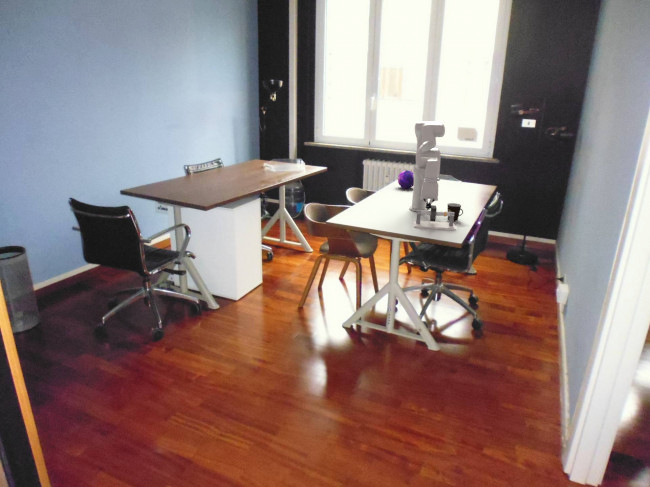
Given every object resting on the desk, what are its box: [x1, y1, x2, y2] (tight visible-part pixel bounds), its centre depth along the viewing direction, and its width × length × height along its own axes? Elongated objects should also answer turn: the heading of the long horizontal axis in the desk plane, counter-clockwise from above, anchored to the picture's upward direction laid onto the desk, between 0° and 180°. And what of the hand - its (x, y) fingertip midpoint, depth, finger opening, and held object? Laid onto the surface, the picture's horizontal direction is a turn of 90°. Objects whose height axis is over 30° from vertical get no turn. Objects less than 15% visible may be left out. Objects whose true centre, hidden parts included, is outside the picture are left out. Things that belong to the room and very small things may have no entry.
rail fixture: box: [413, 210, 457, 231], centre depth 296 cm, size 13×25×9 cm, turn 80°
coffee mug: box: [447, 202, 464, 222], centre depth 308 cm, size 12×9×10 cm
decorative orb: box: [397, 169, 414, 190], centre depth 397 cm, size 15×15×15 cm
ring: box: [429, 204, 438, 222], centre depth 295 cm, size 8×3×8 cm, turn 170°
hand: (428, 209), depth 294 cm, fingers closed
